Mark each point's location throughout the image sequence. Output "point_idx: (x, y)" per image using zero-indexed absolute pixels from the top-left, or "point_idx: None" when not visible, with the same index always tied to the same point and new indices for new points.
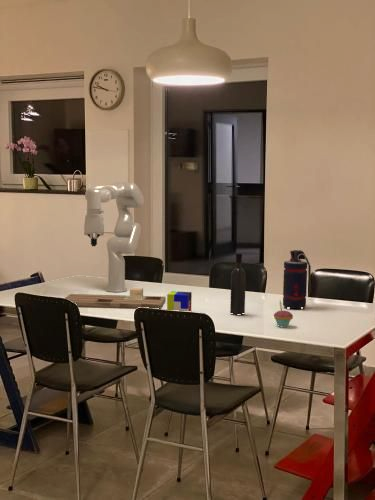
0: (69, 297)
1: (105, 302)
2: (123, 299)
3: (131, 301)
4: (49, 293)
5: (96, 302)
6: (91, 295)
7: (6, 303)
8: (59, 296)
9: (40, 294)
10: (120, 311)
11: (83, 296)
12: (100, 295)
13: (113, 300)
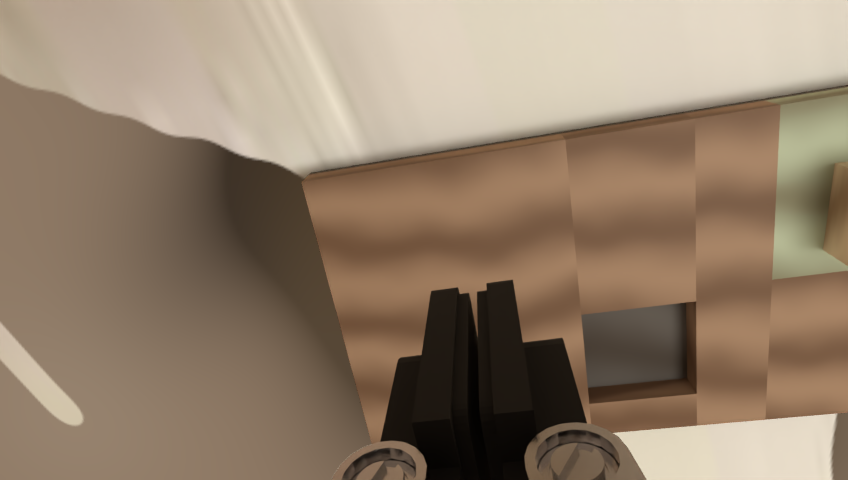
0: (365, 317)
1: (663, 413)
2: (773, 284)
3: (845, 341)
4: (40, 5)
5: (605, 426)
6: (482, 197)
7: (70, 423)
8: (191, 114)
9: (15, 78)
10: (769, 472)
11: (440, 254)
12: (551, 174)
13: (703, 338)
